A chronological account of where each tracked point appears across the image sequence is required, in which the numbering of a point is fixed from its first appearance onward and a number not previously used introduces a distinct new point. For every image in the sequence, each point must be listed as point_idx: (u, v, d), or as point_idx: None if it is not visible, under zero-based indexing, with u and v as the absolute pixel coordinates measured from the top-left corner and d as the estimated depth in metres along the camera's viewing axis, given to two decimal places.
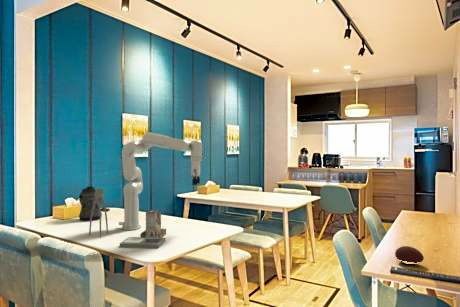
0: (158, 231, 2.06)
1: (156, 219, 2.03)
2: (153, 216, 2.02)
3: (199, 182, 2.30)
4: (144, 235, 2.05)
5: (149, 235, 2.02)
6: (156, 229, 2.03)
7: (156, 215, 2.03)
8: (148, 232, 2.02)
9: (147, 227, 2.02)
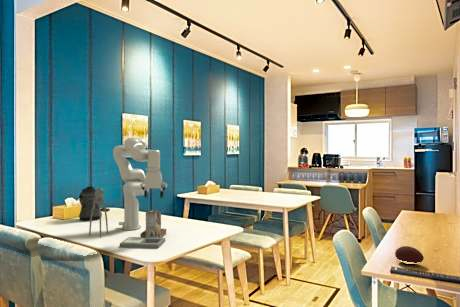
0: (158, 231, 2.06)
1: (156, 219, 2.03)
2: (153, 216, 2.02)
3: (147, 196, 2.08)
4: (144, 235, 2.05)
5: (149, 235, 2.02)
6: (156, 229, 2.03)
7: (156, 215, 2.03)
8: (148, 232, 2.02)
9: (147, 227, 2.02)
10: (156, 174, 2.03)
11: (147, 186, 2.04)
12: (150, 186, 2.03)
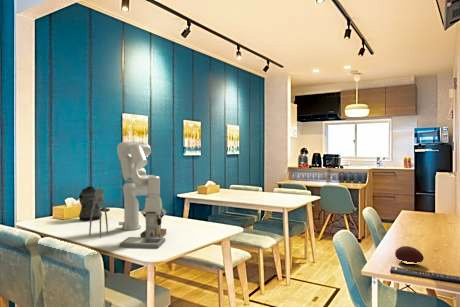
0: (158, 231, 2.06)
1: (156, 219, 2.03)
2: (153, 216, 2.02)
3: None
4: (144, 235, 2.05)
5: (149, 235, 2.02)
6: (156, 229, 2.03)
7: (156, 215, 2.03)
8: (148, 232, 2.02)
9: (147, 227, 2.02)
10: (156, 201, 2.03)
11: None
12: None
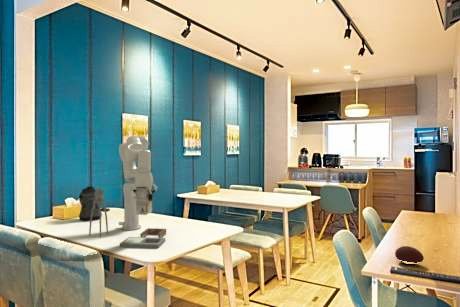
0: (149, 207, 1.98)
1: (147, 194, 1.95)
2: (144, 191, 1.93)
3: None
4: (144, 235, 2.05)
5: (140, 211, 1.94)
6: (147, 205, 1.95)
7: (147, 190, 1.95)
8: (139, 208, 1.94)
9: (137, 203, 1.94)
10: (147, 175, 1.95)
11: None
12: None
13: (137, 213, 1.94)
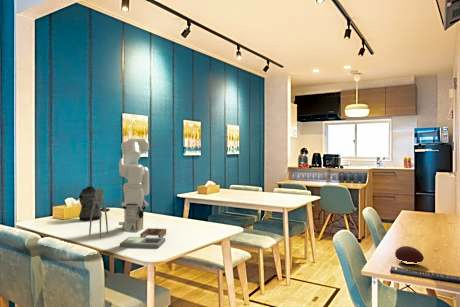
0: (140, 224, 1.91)
1: (137, 211, 1.88)
2: (134, 208, 1.86)
3: None
4: (144, 235, 2.05)
5: (130, 228, 1.87)
6: (137, 222, 1.88)
7: (137, 207, 1.88)
8: (129, 226, 1.87)
9: (127, 220, 1.87)
10: (137, 191, 1.88)
11: None
12: None
13: (127, 231, 1.87)
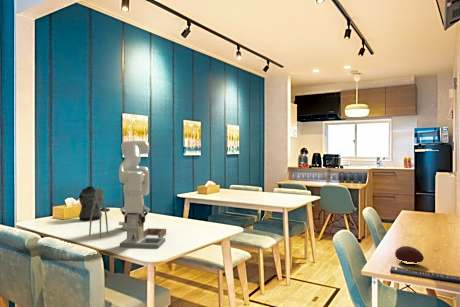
0: (140, 233, 1.91)
1: (138, 221, 1.88)
2: (135, 217, 1.86)
3: None
4: (144, 235, 2.05)
5: (131, 238, 1.87)
6: (138, 231, 1.88)
7: (138, 216, 1.88)
8: (130, 235, 1.87)
9: (128, 229, 1.87)
10: (137, 198, 1.88)
11: (127, 211, 1.88)
12: (130, 211, 1.88)
13: (128, 240, 1.87)
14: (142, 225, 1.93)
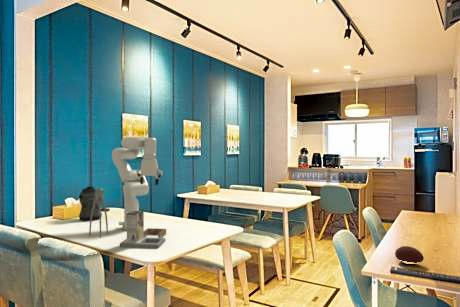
0: (140, 233, 1.91)
1: (138, 221, 1.88)
2: (135, 217, 1.86)
3: (143, 182, 2.12)
4: (144, 235, 2.05)
5: (131, 238, 1.87)
6: (138, 231, 1.88)
7: (138, 216, 1.88)
8: (130, 235, 1.87)
9: (128, 229, 1.87)
10: (152, 162, 2.06)
11: (143, 173, 2.07)
12: (145, 173, 2.07)
13: (128, 240, 1.87)
14: (142, 225, 1.93)
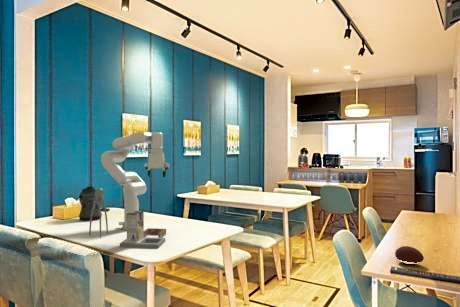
0: (140, 233, 1.91)
1: (138, 221, 1.88)
2: (135, 217, 1.86)
3: (150, 175, 2.21)
4: (144, 235, 2.05)
5: (131, 238, 1.87)
6: (138, 231, 1.88)
7: (138, 216, 1.88)
8: (130, 235, 1.87)
9: (128, 229, 1.87)
10: (159, 155, 2.16)
11: (150, 166, 2.17)
12: (153, 166, 2.17)
13: (128, 240, 1.87)
14: (142, 225, 1.93)
